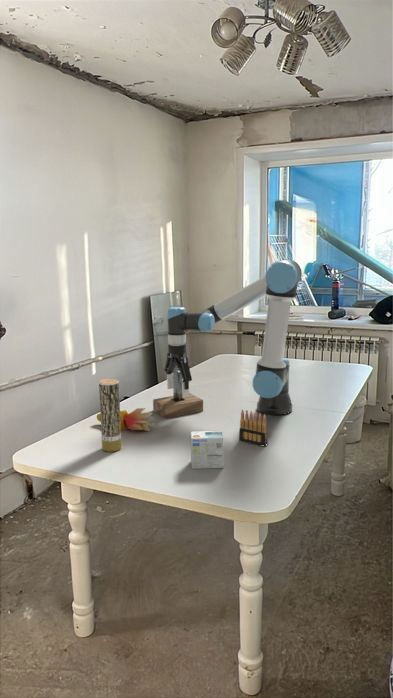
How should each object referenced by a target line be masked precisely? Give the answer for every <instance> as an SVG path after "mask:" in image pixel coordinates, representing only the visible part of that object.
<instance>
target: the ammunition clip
mask: <svg viewBox="0 0 393 698" xmlns="http://www.w3.org/2000/svg"><path fill="white" fill-rule="evenodd" d="M266 415H267V414H264V413H263V416H262V413H261V412H259V414H258V415H257V412H256V411H255V412H254V414H253V412H252V411H250V412H248V410H245V412H244V409H242V410H241V413H240V423H239V430H238V431H239V434H238V435H239V436H238V441H239V442H242V443H248V444H251V445H255V444H256V446H260V445H264V446H265V447H267V446H266V444H267V445H268V430H267V429H268V427H267V426H268V425H267V416H266ZM264 446H263V447H264Z"/></svg>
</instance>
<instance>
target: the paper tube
mask: <svg viewBox="0 0 393 698" xmlns="http://www.w3.org/2000/svg"><path fill="white" fill-rule="evenodd" d="M119 384H120V381H119V379H116V378H104V379H100V380H99V381H98V391H99V393H98V394H99V411H100V413H99V414H101V422H100V430H101V433H100V435H101V448H102V450H103V451H104V452H108V453H111V452H112V453H113V452H117V451H120V450H121V448H122V430H121V423H120V411H121V403H120V401H121V400H120V385H119Z"/></svg>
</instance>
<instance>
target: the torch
mask: <svg viewBox="0 0 393 698" xmlns="http://www.w3.org/2000/svg"><path fill="white" fill-rule="evenodd" d="M145 410H146V407H143V408H142V407H141V408H140V407H139V408H135V409H134V410H132V411H131V412H129V413H128V411H127V410H126V409H124V410H120V423H121V431H125V430H127V429H128V428H129V429H130V430H131V431H148V432H150V431H151V428H150V427H155V426H156V424H155V423H153V422H151V421H150V422H149V421H148V420H149V419H150V417H151V416H152V415H153V414H154V412H143V411H145ZM142 412H143V413H142ZM96 419H97V422H98V421H99V422H100V423H101V414H100V413H97V414H96Z"/></svg>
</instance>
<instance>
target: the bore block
mask: <svg viewBox="0 0 393 698" xmlns="http://www.w3.org/2000/svg"><path fill="white" fill-rule="evenodd" d="M152 407H153V411H154V412H155V413H157V414H158V415H160V416H162V417H163V418H165V419H170V418H175V417H180V416H183V415H189V414H195V413H199V412H203V411H204V399H202V398H200V397H199V396H196V395H194V394H192V393H190V392H189V396H187V397H183V401H179V402H175V401H173V395H169V396H164V397H159V398H153V399H152Z"/></svg>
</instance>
